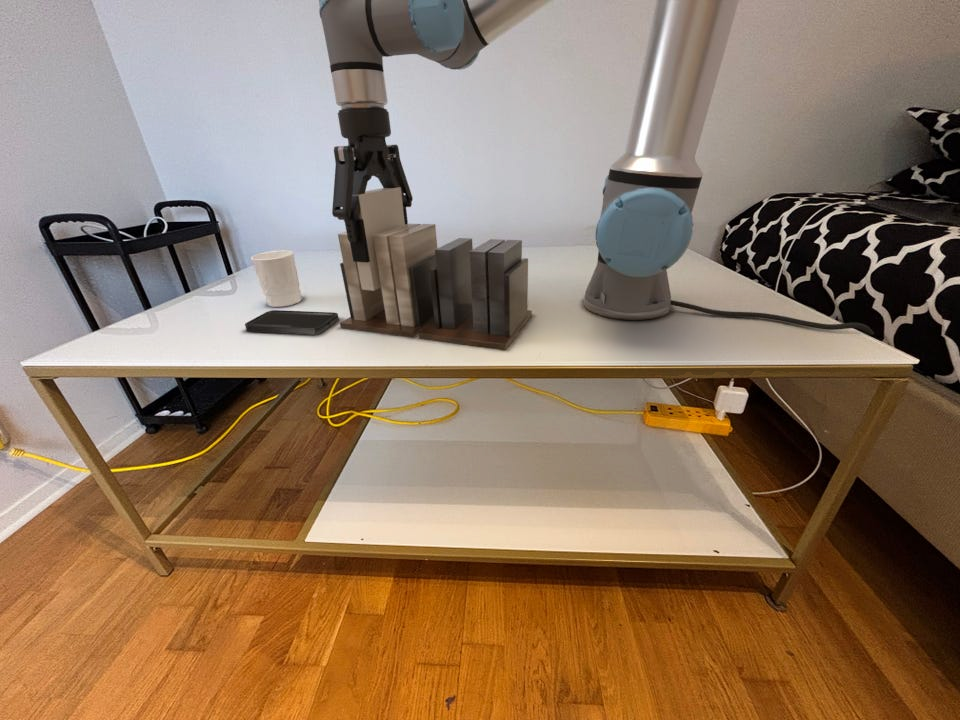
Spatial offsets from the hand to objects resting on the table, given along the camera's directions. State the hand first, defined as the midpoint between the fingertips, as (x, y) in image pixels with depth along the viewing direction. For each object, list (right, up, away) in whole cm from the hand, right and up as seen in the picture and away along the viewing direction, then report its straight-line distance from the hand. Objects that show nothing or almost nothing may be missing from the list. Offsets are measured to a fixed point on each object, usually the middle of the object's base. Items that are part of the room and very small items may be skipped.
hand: (383, 252), depth 72 cm
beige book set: (+2, -11, +5) cm, 12 cm away
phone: (-17, -12, +4) cm, 22 cm away
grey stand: (+17, -13, 0) cm, 21 cm away
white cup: (-25, -6, +16) cm, 30 cm away
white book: (0, -4, +2) cm, 5 cm away
